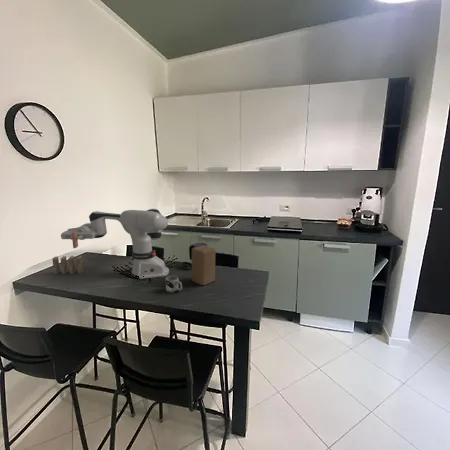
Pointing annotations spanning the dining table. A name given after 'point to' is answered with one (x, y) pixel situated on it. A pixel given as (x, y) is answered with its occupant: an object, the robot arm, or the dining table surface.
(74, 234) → the domino
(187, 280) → the dining table surface
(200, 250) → the wooden block
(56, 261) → the domino
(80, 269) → the domino
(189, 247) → the milk frother
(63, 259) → the domino
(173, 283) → the mug
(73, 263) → the domino
